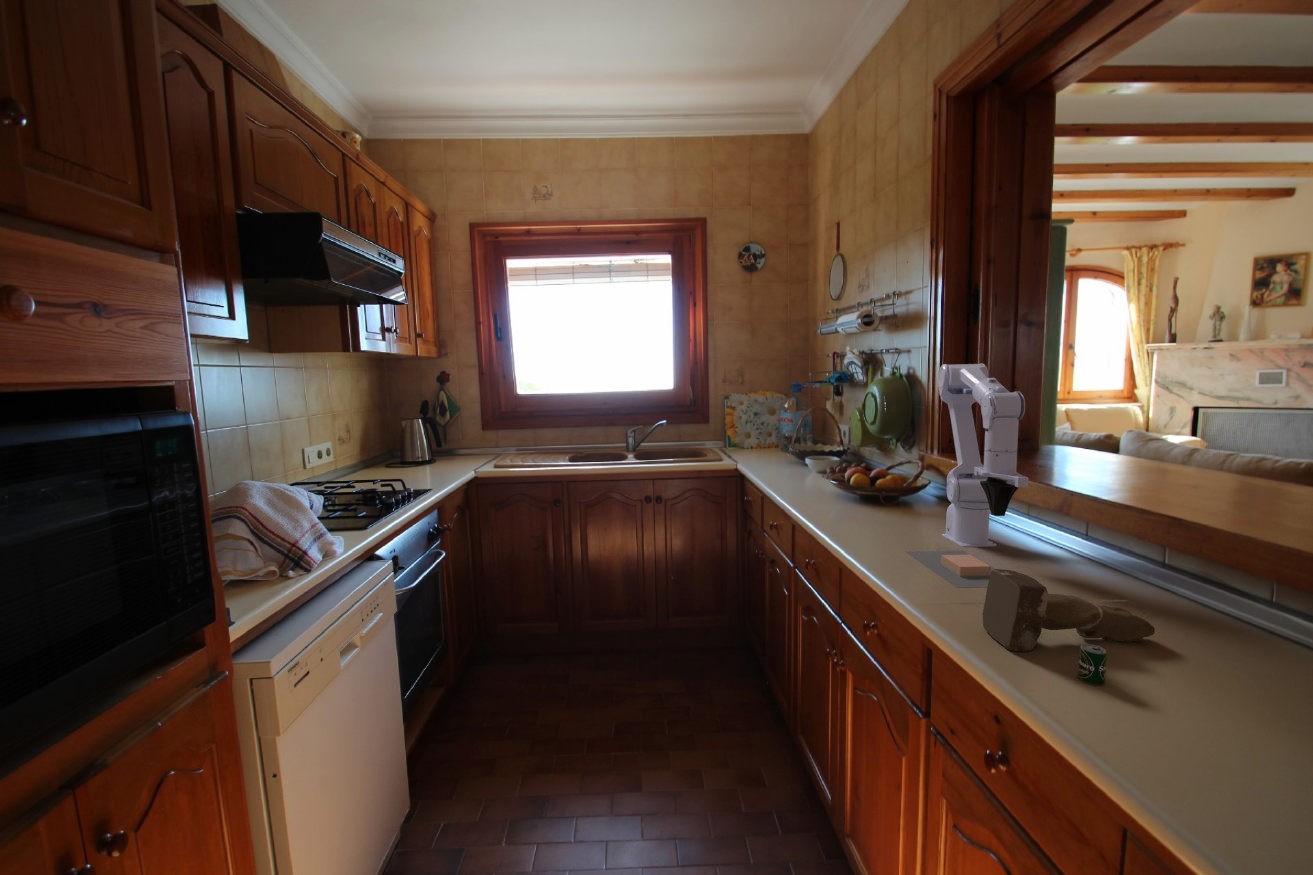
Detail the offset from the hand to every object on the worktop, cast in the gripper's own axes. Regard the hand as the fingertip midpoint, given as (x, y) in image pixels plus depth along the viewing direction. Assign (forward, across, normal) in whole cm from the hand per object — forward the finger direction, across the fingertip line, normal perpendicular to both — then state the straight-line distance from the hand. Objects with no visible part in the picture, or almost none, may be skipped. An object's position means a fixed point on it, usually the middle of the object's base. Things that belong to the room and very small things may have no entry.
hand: (997, 515), depth 113 cm
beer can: (+12, +43, -15) cm, 47 cm away
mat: (+10, +2, -9) cm, 14 cm away
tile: (+9, 0, -9) cm, 13 cm away
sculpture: (+12, +32, -10) cm, 36 cm away
